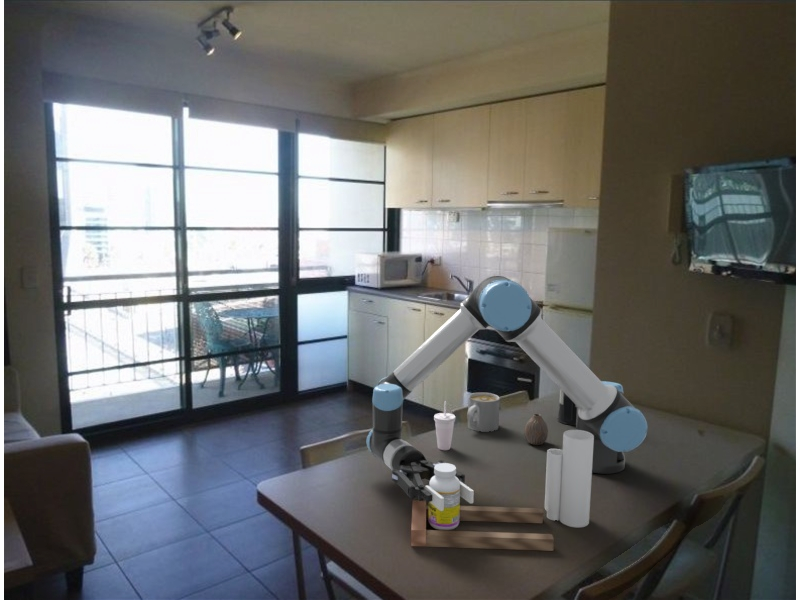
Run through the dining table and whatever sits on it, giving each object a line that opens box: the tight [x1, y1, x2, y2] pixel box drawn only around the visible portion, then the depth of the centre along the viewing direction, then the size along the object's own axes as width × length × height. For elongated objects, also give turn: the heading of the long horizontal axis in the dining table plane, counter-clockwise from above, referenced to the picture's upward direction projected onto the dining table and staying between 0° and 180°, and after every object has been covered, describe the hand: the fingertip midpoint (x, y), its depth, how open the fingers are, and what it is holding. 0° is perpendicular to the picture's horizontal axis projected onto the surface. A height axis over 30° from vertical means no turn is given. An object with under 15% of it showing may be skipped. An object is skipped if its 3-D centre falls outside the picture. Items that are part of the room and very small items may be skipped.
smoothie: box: [433, 400, 457, 451], centre depth 173 cm, size 6×6×14 cm
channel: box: [410, 499, 555, 552], centre depth 127 cm, size 29×13×4 cm, turn 88°
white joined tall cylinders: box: [544, 429, 594, 528], centre depth 133 cm, size 11×7×20 cm, turn 43°
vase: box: [524, 413, 549, 446], centre depth 178 cm, size 7×7×9 cm
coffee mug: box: [466, 392, 500, 433], centre depth 190 cm, size 13×10×10 cm
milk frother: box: [557, 388, 577, 426], centre depth 195 cm, size 14×16×15 cm
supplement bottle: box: [428, 462, 461, 531], centre depth 126 cm, size 7×7×13 cm
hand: (457, 500), depth 122 cm, fingers closed on supplement bottle, 7 cm apart
